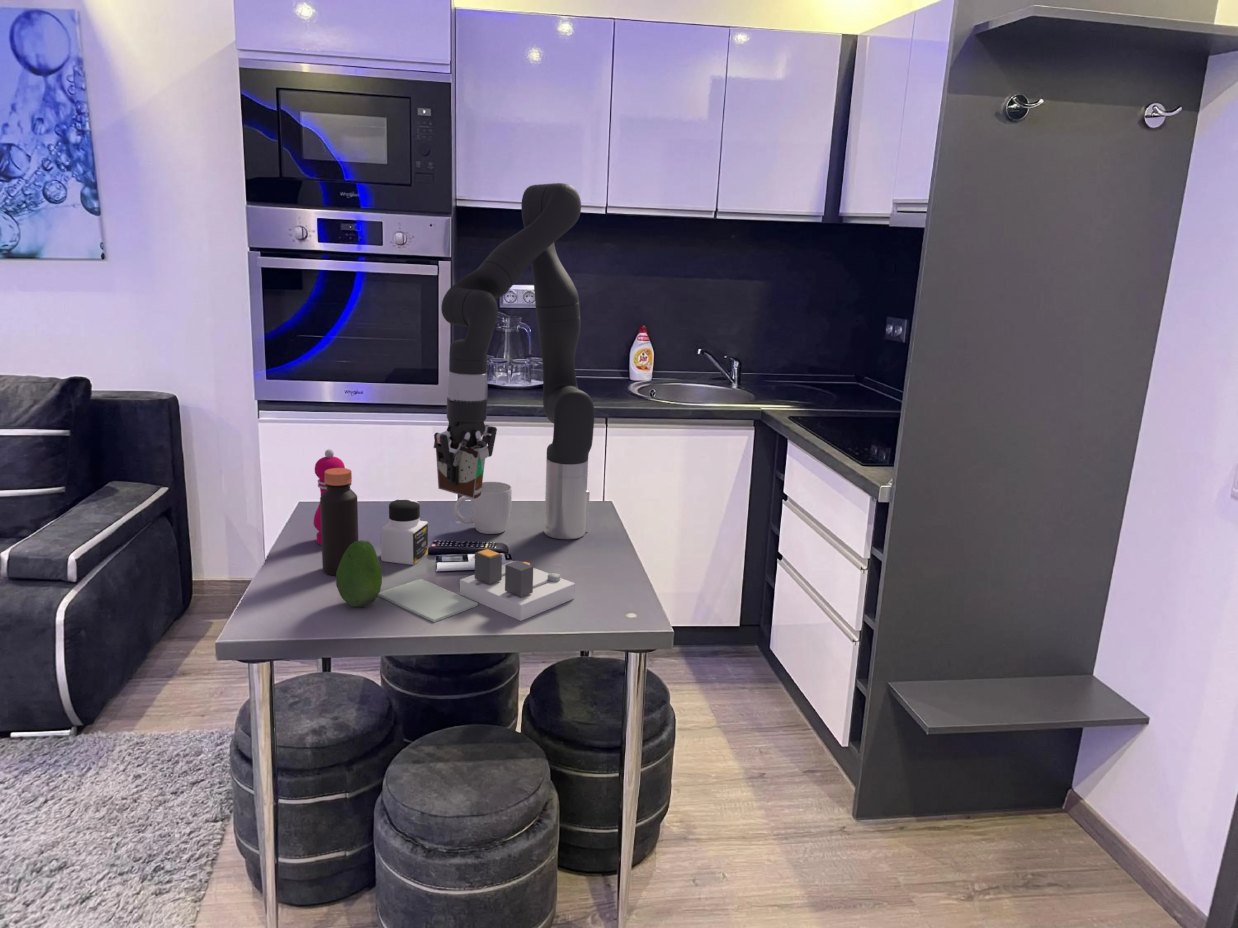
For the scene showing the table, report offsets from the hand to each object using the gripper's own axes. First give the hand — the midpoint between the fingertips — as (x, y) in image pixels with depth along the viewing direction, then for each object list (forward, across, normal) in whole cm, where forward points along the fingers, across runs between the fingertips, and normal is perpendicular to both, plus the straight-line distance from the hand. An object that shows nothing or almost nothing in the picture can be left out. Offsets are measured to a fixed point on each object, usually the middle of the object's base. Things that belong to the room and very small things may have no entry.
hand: (464, 480), depth 174 cm
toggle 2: (+15, +5, +22) cm, 27 cm away
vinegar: (+19, +18, -15) cm, 30 cm away
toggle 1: (+15, +6, +14) cm, 21 cm away
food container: (+2, -1, 0) cm, 2 cm away
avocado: (+19, +24, +1) cm, 31 cm away
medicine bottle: (+19, +5, -12) cm, 23 cm away
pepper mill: (+19, +10, -30) cm, 37 cm away
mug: (+18, -18, -15) cm, 29 cm away
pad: (+18, +15, +8) cm, 25 cm away
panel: (+18, +2, +18) cm, 25 cm away
